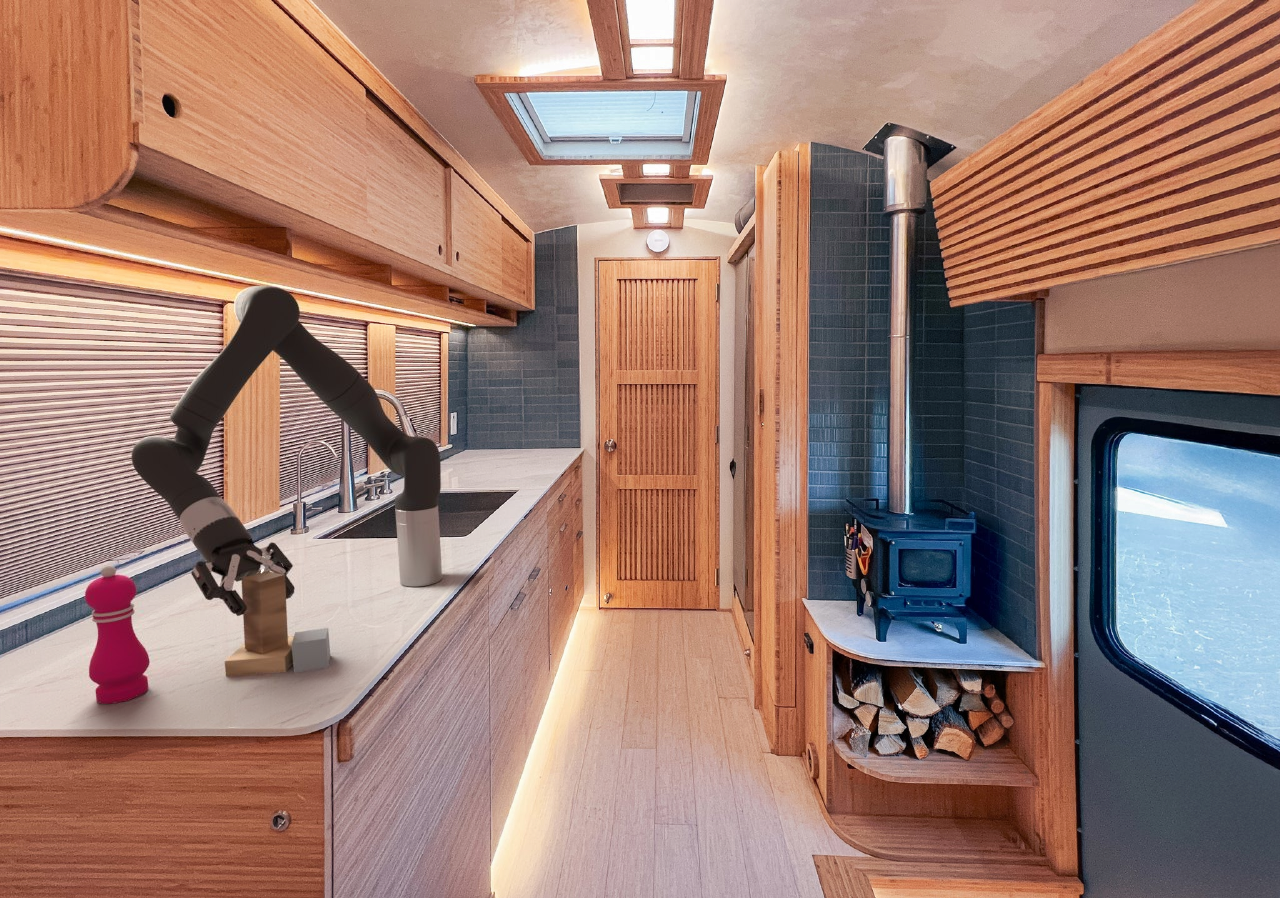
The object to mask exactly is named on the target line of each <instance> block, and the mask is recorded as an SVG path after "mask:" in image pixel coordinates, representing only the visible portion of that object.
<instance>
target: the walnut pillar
mask: <svg viewBox="0 0 1280 898" xmlns="http://www.w3.org/2000/svg"><path fill="white" fill-rule="evenodd" d="M241 599H242V600H243V602H244V603H245V604H246V606H247V609H246V611H245V612H244V614H243V615H242V616H243V634H244V635H243V636H244V639H243V640H244V643H245V649H247V650H250V651H254V652H258V653H261V654H264V653H267V652H269V651H272V650H275V649H277V648H280V647H282V646H285V645H288V635H289V634H288V615H287V614H288V610H287V599H286V586H285V575H284V574H279V573H274V572H272V571H270V572H268V571H266V572H262V573H258V574H255V575H251V576H247V577H244V578H241Z"/></svg>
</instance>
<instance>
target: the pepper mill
mask: <svg viewBox="0 0 1280 898" xmlns="http://www.w3.org/2000/svg"><path fill="white" fill-rule="evenodd" d="M116 573H117V569H116V567H114V565H105V566H103V567H102V568H101V570H100V574H101V577H98V578H96V579H95V580H93V581H91V582H90V584H89V583H88V586H87V587H86V590H85V593H84V600H85V603H86V604H87V605H88V607H90V608H92V611H91V615H92V618H91V620H92V622H93V623H96V628H97V639H96V645H95V648H94V650H93V653H92V656H91V658H90V662H89V664H88V665H89V666H88V678H89V679H90V680H91V681H92V682H93V683H94V684H97V685H98V686H97V687H96V688H95V698H96V701H97V703H99V704H102V703H103V704H105V705H106V704H107V705H111V704H118V702H119V703H123V702H126V700H127V701H130V700H133V699H135V698H137V697H139V696H142V695H143V694H145V693H146V692H147V691H148V689H149V681H148V676H147V675H145V672H147V670H148V668H149V666H150V658H149V654H148V652H147V650H146V648H145V647H144V645H143V644H142V642H141V641H140V640H139V639H138V637H137V635H136V633H135V630H134V627H133V620H132V618H133V617H132V616H133V615H134V614H135V609H134V607H135V605H134V604H133V602H132V601H133V600H134V599H135V597H136V594H137V586H136V584H135V582H134V580H133V579H132V578H131V577H129V576H126V575H123V574H116Z"/></svg>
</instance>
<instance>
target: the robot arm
mask: <svg viewBox="0 0 1280 898" xmlns="http://www.w3.org/2000/svg"><path fill="white" fill-rule="evenodd" d="M233 310H234V314H235V317H236V319H237V321H238V323H239V325H238V327H237V329H236V331H235V333H234V335H233V336H232V338H231V339H230V340H229V341H228V343H227V344H226V345H225V346H224V348H223V349H222V350H221V351H220V353H218V355H217V356H216V357H215V358H214V359H213V360H211V361H210V363H209V364H207V366H206V367H204V369H203V370H201V371H200V373H199V374H198V375H197V376H196V377H195V378H194V379H193V381H192V382H191V383H190V384H189V386H188V388H187V389H186V391H184V393H183V394H182V396H181V398H180V399H179V400H178V402H177V404H176V405H175V406H174V407H173V408H172V411H171V412H170V415H169V418H170V421H171V422H172V423H173V424H174V425H175V426H176V427H177V430H176V432H175V435H174V438H173V439H170V438H168V437H165V436H160V435H150V436H146V437H143V438H142V439H139V440H138V441H137V442H136V444H134V445H133V448H132V452H131V462H132V466H133V468H134V470H135V472H136V473H137V474H138V476H140V477H141V479H142V480H143V481H144V482H145V483H146V484H148V486H149V487H150V488H151V489H153V491H154V492H156V494H158V495H159V496H160V497H161V498H163V499H164V501H165V502H166V503H167V504H168V505H169V507H170V509H171V510H172V512H173V513H174V515H175V516H176V517H177V519H178V521H179V522H180V524H181V526H182V527H183V530H184V531H185V534H186V535H187V536H188V538H189V539H190V541H191V542H192V544H193V545H194V547H195V548H196V549H197V552H199V554H200V555H201V557H202V558H203V560H204V561H205V562H204V561H203V560H200V561H197V563H196V564H195V566H194V568H193V569H192V571H191V573H190V574H191V576H192V577H193V580H194V581H195V583H196V584H197V586H198V588H199V590H200V592H201V593H202V595H203V596H204V597H205V600H207V601H208V600H209V601H212V600H213V599H219V600H222V602H224V604H225V605H226V607H227V609H229V611H230V613H232V614H234V615H236V616H237V617H239V616H243V614H244V612H245V611H246V609H247V606H246V604H245V603H244V602H243V600H242V596H240V594H239V592H238V591H237V590H236V589H234V588H233V587H234V583H235V582H240V581H241V582H242V580H241V578H244V577H247V576H251V575H255V574H258V573H262V572H266V571H268V572H274V573H279V574H284V575H285V586H286V600H288V599H291V598H292V596H293V595H294V593H295V585H294V584H293V582H291V580H290V578H289V577H288V574H289V572H290V571H291V570H292V568H293V567H294V565H293V563H292V562H291V560H289V559H288V557H287V556H286V555H285V554H284V552H283V551H282V550H281V549H280V548H279V546H278V545H277V543H275V542H269V544H268V545H267V546H265V547H262V548H260V547H258V546H256V545H255V544H254V540H253V538H252V535H251V534H250V532H249V531H248V529H247V528H246V526H245V525H244V524H243V523H242V521H241V520H240V519H239V517H238V516H237V515H236V513H235V512H234V510H233V508H231V506H230V505H229V504H228V503H227V502H225V500H224V499H223V498H222V497H221V495H220V493H219V492H218V490H217V489H216V488H215V487H214V485H213V484H212V483H211V482H210V480H209V479H207V478H206V477H204V476H202V475H201V474H198V473H197V472H198V471H199V469H200V468H201V467H202V464H203V463H204V460H205V457H206V454H207V450H208V448H209V446H210V444H211V439H212V436H213V432H214V431H215V429H216V427H217V426H218V425H219V424H220V423H221V421H222V419H223V417H224V416H225V414H226V413H227V412H228V410H229V408H230V407H231V405H232V404H233V402H234V401H235V399H236V398H237V396H238V395H239V394H240V392H241V390H242V389H243V388H244V387H245V384H246V383H247V382H248V381H249V379H250V378H251V377H252V376H253V375H254V373H255V372H256V371H257V369H258V368H259V367H260V366H261V364H262V363H263V362H264V361H265V360H266V359H267V357H269V355H270V354H271V353H272V352H274V353H275V354H276V355H277V356H279V357H280V358H281V359H282V360H283V361H284V362H285V363H286V364H287V365H288V366H289V367H290V369H292V370H293V372H295V374H296V375H297V376H298V377H299V378H300V379H301V381H302V382H303V383H304V384H305V385H306V386H307V387H308V388H309V389H310V390H311V391H312V392H313V394H315V396H316V397H317V398H319V400H321V402H322V403H323V404H325V406H327V407H328V408H329V409H330V410H331V411H332V412H333V413H334V414H335V415H336V416H337V417H339V419H341V420H342V421H343V422H344V423H345V424H346V425H347V426H348V427H350V428H351V429H352V431H354V432H355V433H356V434H357V435H358V436H359V437H361V439H363V440H364V442H366V444H367V445H369V447H370V448H371V449H372V450H373V452H375V454H376V455H377V457H378V458H379V459H380V460H381V462H382V463H383V464H384V465H385V466H386V468H387V469H388V470H390V471H391V472H392V473H393V474H396V475H397V476H401V477H404V479H403V480H404V481H403V482H404V483H403V490H402V492H400V493H399V494H397V495H396V496H395V498H394V510H395V523H396V536H397V537H396V538H397V540H396V541H397V552H398V567H399V582H400V585H402V586H405V587H422V586H423V587H425V586H430V585H433V584H436V583H438V582H440V581H442V580H441V579H443V570H442V569H443V567H442V549H441V532H440V517H439V515H440V514H439V497H440V493H441V488H442V484H441V483H442V482H441V476H442V475H441V472H442V471H441V469H442V468H441V466H442V465H441V455H440V450H439V447H438V446H437V444H436V443H435V441H433V440H432V439H430V438H427V437H422V436H412V435H411V436H410V435H408V434H406V433H405V432H403V431H402V430H401V429H400V428H399V427H398V426H397V425H396V424H395V423H393V421H392V420H391V419H390V418H389V417H388V415H387V414H386V413H385V411H384V409H383V406H382V403H381V400H380V398H379V396H378V394H377V392H376V390H375V388H374V387H373V385H371V383H370V382H369V381H368V380H367V379H366V377H364V376H363V375H362V374H361V373H360V372H359V371H358V370H357V369H356V368H355V367H354V366H353V365H352V364H351V363H350V362H348V361H347V360H346V359H344V358H343V357H342V356H341V355H339V354H338V353H336V352H335V351H334V350H332V349H331V348H330V347H328V346H327V345H326V344H324V343H323V342H322V341H320V340H319V339H317V338H316V337H315V336H314V335H312V334H311V332H309V331H308V329H307V328H306V327H305V326H304V325H303V324H302V323H301V322H300V313H301V312H300V307H299V303H298V302H297V300H296V298H295V297H294V296H293V295H292V294H291V293H290V292H288V291H287V290H286V289H283V288H280V287H277V286H276V287H275V286H270V285H253V286H248V287H246V288H244V289H242V290H241V291H239V292H238V293H237V295H236V297H235V299H234V302H233ZM262 566H263V567H264V568H263V569H261V567H262ZM212 573H214V574H217V575H219V576H221V578H220V579H221V580H220V584H218V582H217V581H216V580H215V577H214V575H212Z"/></svg>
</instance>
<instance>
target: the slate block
mask: <svg viewBox="0 0 1280 898" xmlns="http://www.w3.org/2000/svg"><path fill="white" fill-rule="evenodd" d="M329 632H330V631H329V627H322V628H318V629H317V628H316V629H309V630H303V631H297V632H295V633H294V635H293V636H294V638H293V641H292V655H293V664H292V665H293V673H294V674H297V673H302V672H308V671H315V670H320V669H328V668H329V665H330V660H331V646H330V645H331V644H330V635H329V634H330V633H329Z"/></svg>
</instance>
